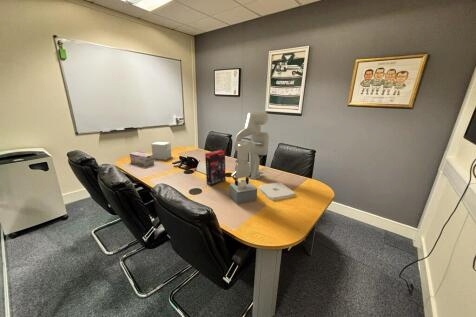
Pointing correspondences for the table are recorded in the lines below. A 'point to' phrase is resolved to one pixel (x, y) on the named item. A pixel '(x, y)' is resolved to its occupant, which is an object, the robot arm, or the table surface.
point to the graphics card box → (215, 167)
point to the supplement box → (161, 150)
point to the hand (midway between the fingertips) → (241, 184)
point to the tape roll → (241, 183)
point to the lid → (248, 188)
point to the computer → (276, 191)
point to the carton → (242, 195)
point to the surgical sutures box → (141, 158)
